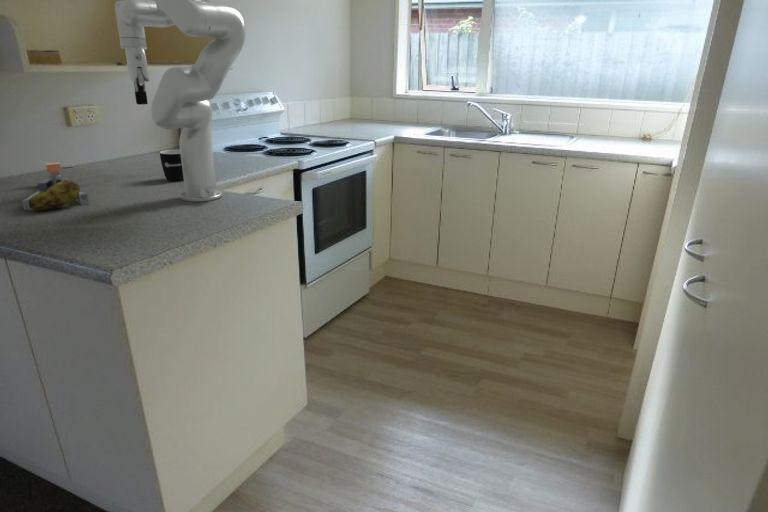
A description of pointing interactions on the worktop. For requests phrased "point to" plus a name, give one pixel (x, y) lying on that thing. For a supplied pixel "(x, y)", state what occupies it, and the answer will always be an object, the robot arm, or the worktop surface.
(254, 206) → the worktop surface
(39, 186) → the tongs fixed
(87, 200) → the tongs jaw
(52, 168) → the tab
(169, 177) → the mug
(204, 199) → the robot arm
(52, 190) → the potato
